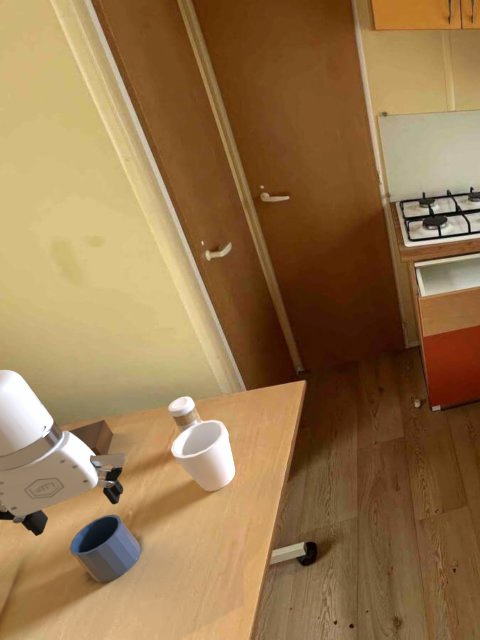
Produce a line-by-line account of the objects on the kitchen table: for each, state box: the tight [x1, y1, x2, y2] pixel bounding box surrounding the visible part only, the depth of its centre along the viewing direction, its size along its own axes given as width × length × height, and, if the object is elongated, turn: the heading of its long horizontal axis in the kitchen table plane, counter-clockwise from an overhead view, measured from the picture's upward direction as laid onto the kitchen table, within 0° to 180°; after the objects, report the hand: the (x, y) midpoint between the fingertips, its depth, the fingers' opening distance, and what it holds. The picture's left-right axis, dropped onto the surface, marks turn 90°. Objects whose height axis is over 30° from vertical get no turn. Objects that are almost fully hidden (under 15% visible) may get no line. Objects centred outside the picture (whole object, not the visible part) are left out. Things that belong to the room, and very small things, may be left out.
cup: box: [69, 514, 142, 583], centre depth 77 cm, size 7×7×9 cm
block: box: [68, 419, 114, 456], centre depth 97 cm, size 9×9×5 cm
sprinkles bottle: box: [167, 396, 204, 434], centre depth 99 cm, size 5×5×14 cm
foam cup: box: [170, 419, 236, 493], centre depth 91 cm, size 10×9×13 cm
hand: (81, 511), depth 72 cm, fingers open, 9 cm apart
